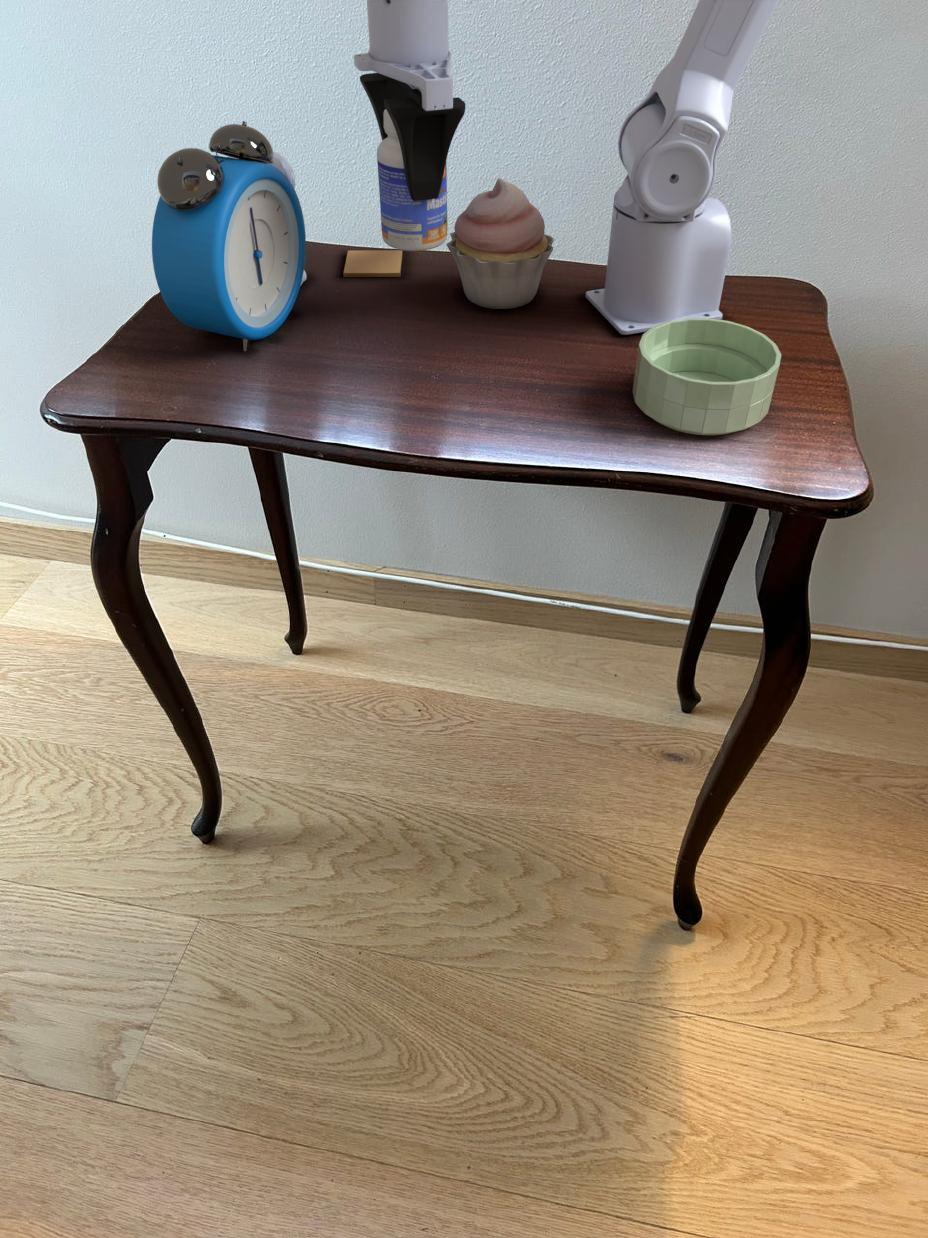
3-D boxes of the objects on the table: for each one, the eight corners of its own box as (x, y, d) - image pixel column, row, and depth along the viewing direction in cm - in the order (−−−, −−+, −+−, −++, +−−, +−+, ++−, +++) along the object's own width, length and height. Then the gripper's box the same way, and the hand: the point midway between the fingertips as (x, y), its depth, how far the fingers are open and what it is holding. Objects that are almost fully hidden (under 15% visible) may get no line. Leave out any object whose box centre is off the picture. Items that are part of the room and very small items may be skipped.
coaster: (402, 253, 92) (402, 249, 91) (400, 276, 88) (400, 272, 88) (348, 254, 92) (347, 250, 91) (343, 277, 88) (343, 272, 87)
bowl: (724, 363, 76) (735, 309, 73) (793, 427, 69) (808, 371, 66) (610, 383, 74) (617, 328, 70) (669, 451, 67) (679, 393, 64)
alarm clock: (234, 371, 75) (197, 172, 65) (169, 356, 77) (122, 160, 66) (316, 301, 84) (294, 116, 73) (255, 289, 85) (226, 106, 75)
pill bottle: (440, 255, 76) (438, 123, 70) (374, 250, 77) (366, 118, 70) (453, 229, 80) (452, 102, 73) (391, 224, 81) (384, 98, 74)
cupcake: (440, 276, 88) (438, 161, 81) (540, 270, 89) (546, 156, 82) (454, 322, 81) (453, 201, 74) (561, 315, 82) (570, 195, 75)
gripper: (327, -34, 70) (343, 161, 80) (377, 6, 60) (388, 224, 70) (419, -39, 72) (424, 152, 81) (482, -1, 62) (480, 212, 71)
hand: (413, 185), depth 76 cm, fingers closed on pill bottle, 5 cm apart
